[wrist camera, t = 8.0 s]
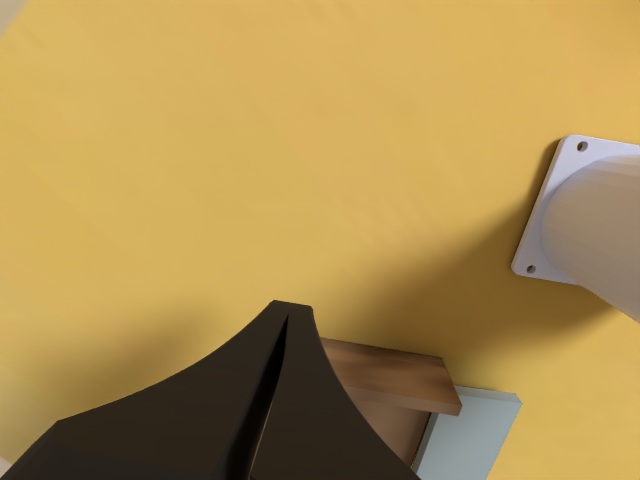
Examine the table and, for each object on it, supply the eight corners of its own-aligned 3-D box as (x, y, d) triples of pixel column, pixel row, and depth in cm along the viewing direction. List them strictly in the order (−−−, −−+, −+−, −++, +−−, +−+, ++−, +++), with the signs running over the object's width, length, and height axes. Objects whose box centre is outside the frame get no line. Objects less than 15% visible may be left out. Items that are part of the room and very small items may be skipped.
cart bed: (441, 358, 22) (462, 405, 18) (402, 470, 26) (413, 529, 22) (267, 328, 22) (252, 370, 18) (252, 445, 26) (238, 500, 22)
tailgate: (442, 383, 21) (515, 393, 21) (408, 476, 24) (473, 483, 24) (446, 393, 20) (522, 403, 21) (411, 487, 23) (478, 495, 24)
